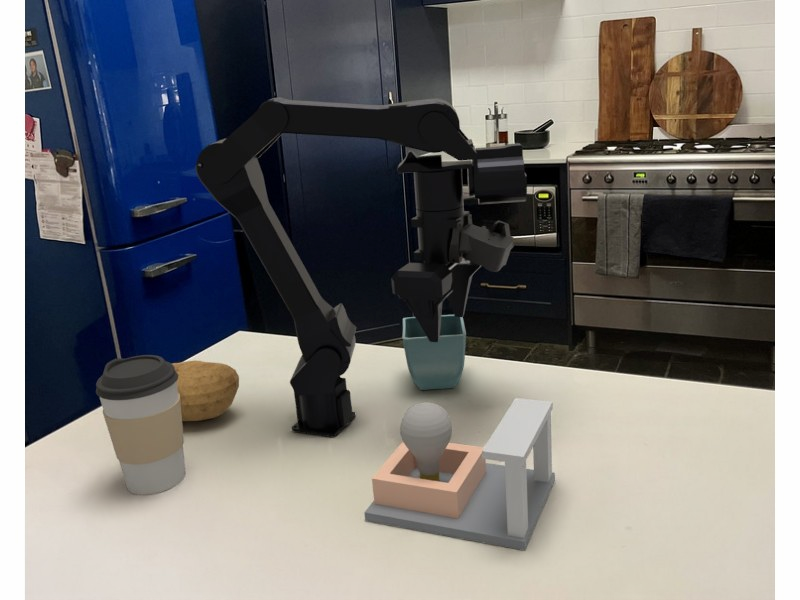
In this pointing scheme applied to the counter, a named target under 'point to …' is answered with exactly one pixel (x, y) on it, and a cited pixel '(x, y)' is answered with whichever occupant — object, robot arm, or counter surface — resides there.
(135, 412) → the coffee cup
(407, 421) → the light bulb
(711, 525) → the counter surface
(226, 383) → the potato
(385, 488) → the socket stand
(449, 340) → the flower pot
